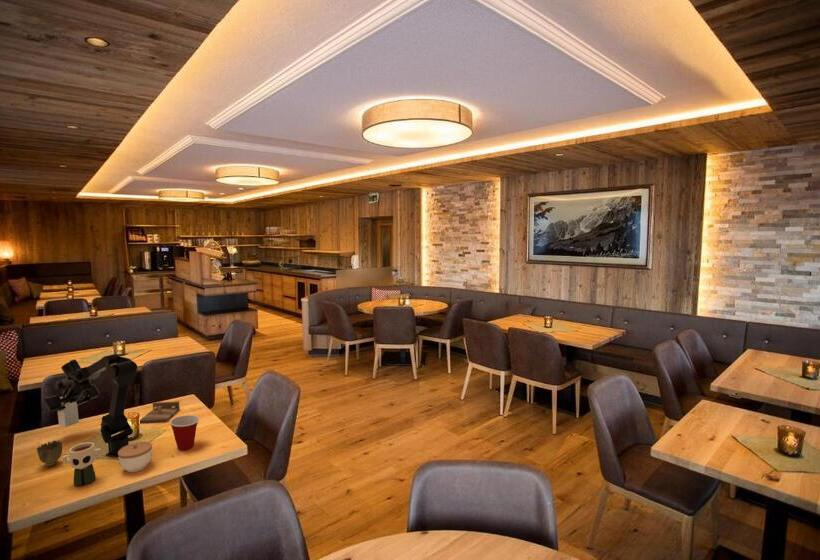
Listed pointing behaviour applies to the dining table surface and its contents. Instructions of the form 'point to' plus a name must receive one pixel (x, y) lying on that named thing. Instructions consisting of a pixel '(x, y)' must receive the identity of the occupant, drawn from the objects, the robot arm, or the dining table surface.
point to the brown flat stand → (161, 412)
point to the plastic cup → (184, 431)
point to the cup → (50, 453)
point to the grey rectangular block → (68, 414)
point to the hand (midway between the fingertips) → (65, 408)
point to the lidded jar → (135, 456)
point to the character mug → (82, 462)
